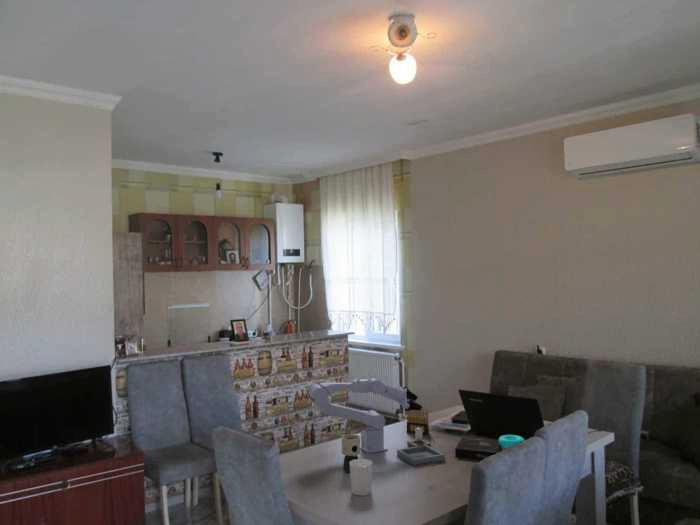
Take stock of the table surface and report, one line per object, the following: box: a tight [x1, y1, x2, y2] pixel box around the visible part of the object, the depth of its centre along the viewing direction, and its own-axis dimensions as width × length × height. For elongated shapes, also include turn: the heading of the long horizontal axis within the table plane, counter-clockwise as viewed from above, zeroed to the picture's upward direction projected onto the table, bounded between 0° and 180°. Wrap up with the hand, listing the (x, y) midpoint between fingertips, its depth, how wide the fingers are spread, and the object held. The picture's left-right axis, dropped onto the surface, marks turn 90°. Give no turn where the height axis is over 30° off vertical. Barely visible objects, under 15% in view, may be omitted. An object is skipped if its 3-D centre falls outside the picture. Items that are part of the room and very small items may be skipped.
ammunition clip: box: [406, 407, 430, 436], centre depth 259 cm, size 11×2×12 cm, turn 62°
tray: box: [396, 445, 446, 467], centre depth 224 cm, size 14×14×2 cm
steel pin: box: [414, 427, 423, 444], centre depth 239 cm, size 3×3×8 cm
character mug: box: [341, 434, 361, 473], centre depth 211 cm, size 11×7×13 cm, turn 145°
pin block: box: [406, 438, 432, 448], centre depth 239 cm, size 8×8×2 cm
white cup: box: [349, 458, 373, 496], centre depth 190 cm, size 8×8×10 cm
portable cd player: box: [454, 437, 503, 461], centre depth 229 cm, size 16×17×4 cm
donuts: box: [498, 434, 526, 449], centre depth 216 cm, size 10×10×10 cm
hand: (418, 403), depth 244 cm, fingers open, 7 cm apart
